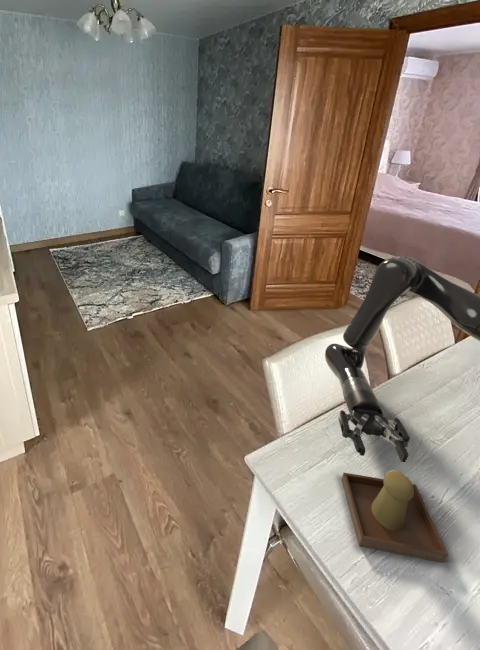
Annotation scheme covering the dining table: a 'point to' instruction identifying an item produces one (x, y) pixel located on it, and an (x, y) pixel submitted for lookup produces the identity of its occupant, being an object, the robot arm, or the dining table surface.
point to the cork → (393, 500)
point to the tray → (410, 540)
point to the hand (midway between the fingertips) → (383, 456)
